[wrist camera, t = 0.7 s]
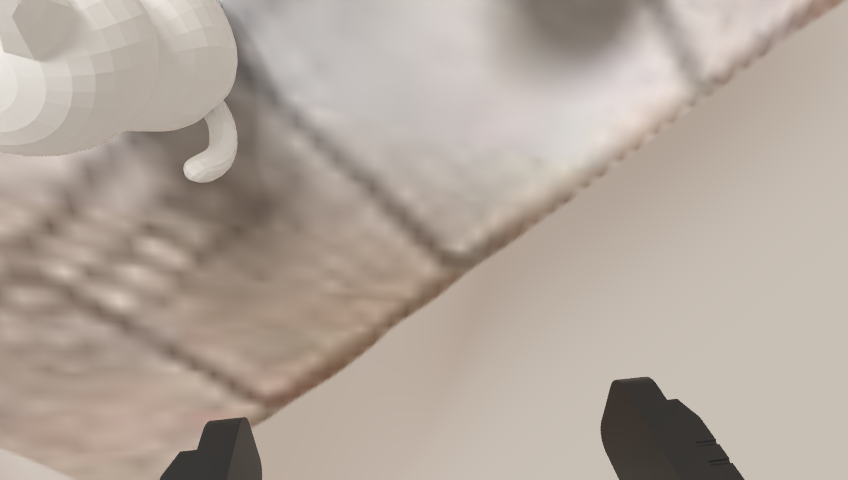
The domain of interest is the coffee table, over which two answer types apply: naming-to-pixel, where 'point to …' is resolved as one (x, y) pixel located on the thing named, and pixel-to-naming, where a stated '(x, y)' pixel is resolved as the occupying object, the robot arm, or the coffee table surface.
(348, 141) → the coffee table surface
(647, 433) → the robot arm
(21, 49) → the cat figurine
